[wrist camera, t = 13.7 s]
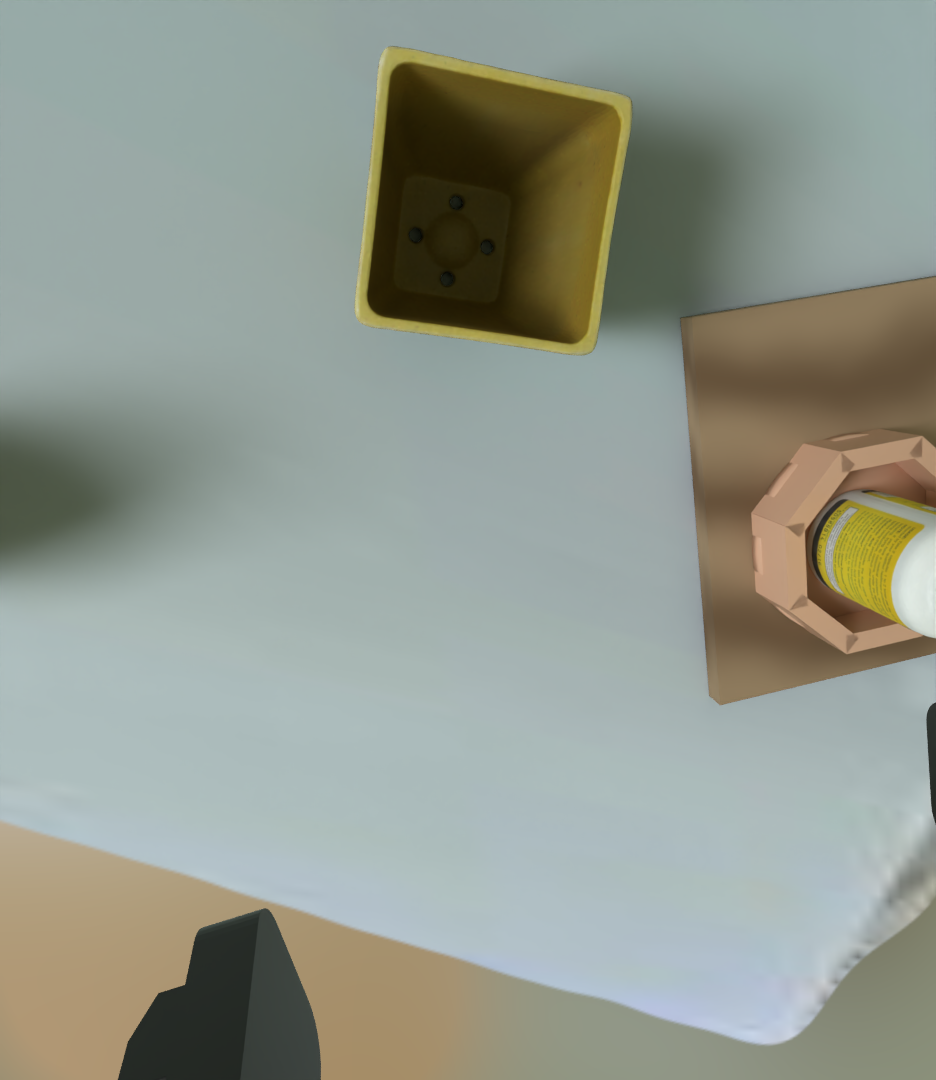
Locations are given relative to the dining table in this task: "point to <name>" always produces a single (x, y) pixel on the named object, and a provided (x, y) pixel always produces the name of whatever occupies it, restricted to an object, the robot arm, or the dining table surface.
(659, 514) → the dining table surface
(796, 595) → the octagonal planter bowl
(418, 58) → the flower pot
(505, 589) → the dining table surface
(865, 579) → the supplement bottle
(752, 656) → the walnut board
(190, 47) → the dining table surface
